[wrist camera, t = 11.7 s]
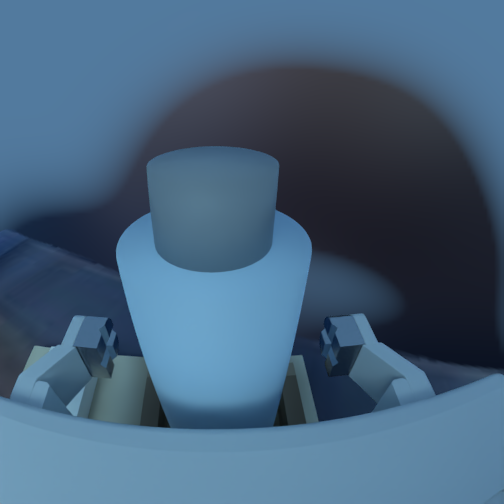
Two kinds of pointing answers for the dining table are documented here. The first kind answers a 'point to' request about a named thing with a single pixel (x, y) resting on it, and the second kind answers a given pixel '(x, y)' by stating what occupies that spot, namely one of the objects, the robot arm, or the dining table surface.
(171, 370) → the tapered blue cylinder
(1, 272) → the dining table surface
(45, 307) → the dining table surface
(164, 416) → the jig
